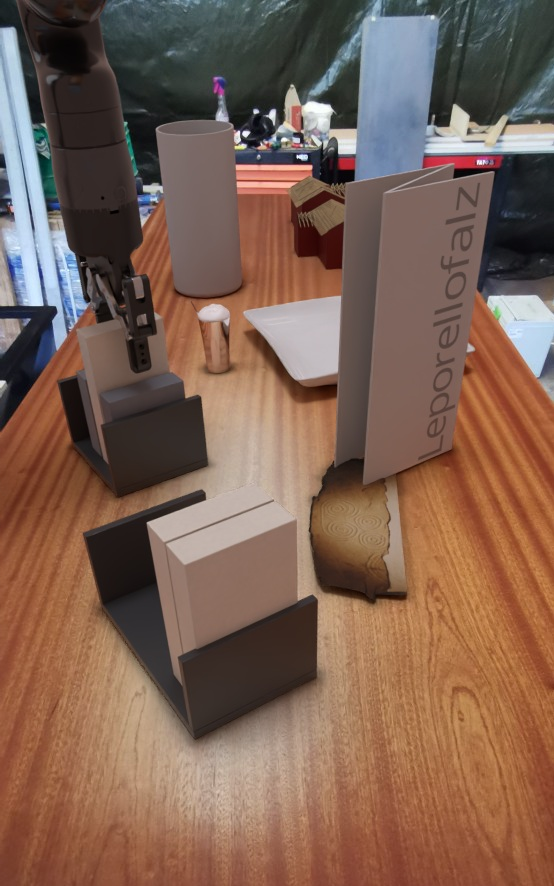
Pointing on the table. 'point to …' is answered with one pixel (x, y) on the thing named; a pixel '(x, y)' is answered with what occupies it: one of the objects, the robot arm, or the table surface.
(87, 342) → the white book
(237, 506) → the book holder
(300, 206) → the toy houses
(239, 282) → the cylinder vase
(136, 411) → the grey rack
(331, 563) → the parchment
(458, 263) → the brochure
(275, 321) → the square plate
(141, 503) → the table surface
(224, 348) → the milkshake
